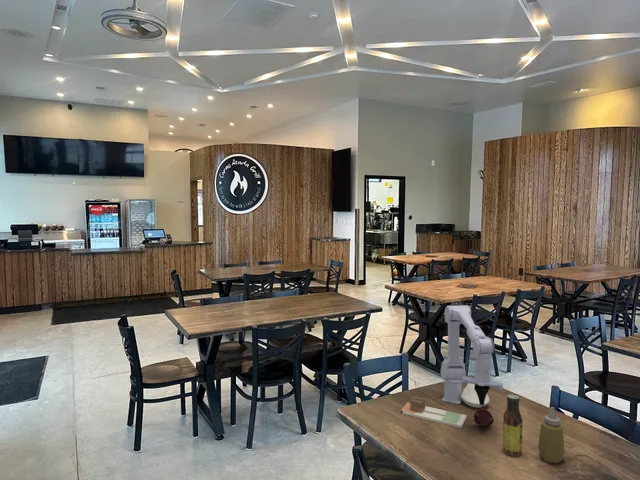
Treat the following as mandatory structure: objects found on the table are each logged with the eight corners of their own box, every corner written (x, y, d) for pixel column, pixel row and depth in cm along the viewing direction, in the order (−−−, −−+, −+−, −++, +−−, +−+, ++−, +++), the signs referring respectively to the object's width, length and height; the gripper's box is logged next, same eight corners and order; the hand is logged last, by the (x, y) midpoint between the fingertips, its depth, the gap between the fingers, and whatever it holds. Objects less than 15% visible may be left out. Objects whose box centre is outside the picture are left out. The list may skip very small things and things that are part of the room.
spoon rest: (490, 412, 183) (491, 396, 182) (461, 409, 186) (462, 393, 185) (484, 390, 205) (485, 376, 205) (458, 388, 208) (459, 373, 208)
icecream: (497, 420, 162) (494, 407, 176) (476, 412, 164) (475, 400, 178) (491, 437, 162) (489, 423, 176) (471, 429, 164) (471, 415, 179)
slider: (413, 405, 186) (414, 396, 185) (425, 407, 183) (425, 398, 183) (410, 409, 181) (410, 400, 181) (421, 412, 179) (422, 403, 179)
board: (407, 404, 190) (407, 401, 190) (466, 417, 177) (466, 414, 177) (400, 413, 181) (400, 410, 181) (461, 428, 169) (461, 425, 169)
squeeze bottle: (540, 449, 153) (542, 400, 152) (566, 458, 148) (568, 406, 147) (535, 459, 147) (536, 408, 146) (561, 468, 142) (563, 415, 141)
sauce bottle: (524, 458, 148) (525, 401, 147) (504, 456, 149) (506, 400, 148) (519, 448, 154) (520, 393, 153) (500, 446, 155) (502, 392, 154)
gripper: (461, 369, 166) (460, 403, 167) (501, 376, 159) (500, 412, 159) (464, 363, 172) (464, 397, 173) (504, 370, 165) (503, 405, 166)
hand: (481, 404), depth 166 cm, fingers closed
